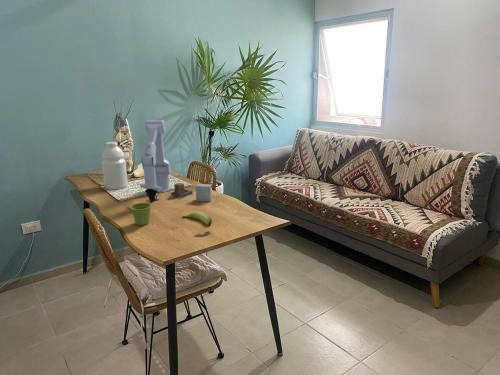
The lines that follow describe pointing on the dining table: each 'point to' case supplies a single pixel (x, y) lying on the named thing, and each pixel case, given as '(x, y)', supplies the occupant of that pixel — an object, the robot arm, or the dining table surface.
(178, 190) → the plug
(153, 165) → the robot arm
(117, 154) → the bottle
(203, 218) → the green banana
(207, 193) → the medicine box
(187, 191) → the cradle
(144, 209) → the plant pot
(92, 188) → the dining table surface
